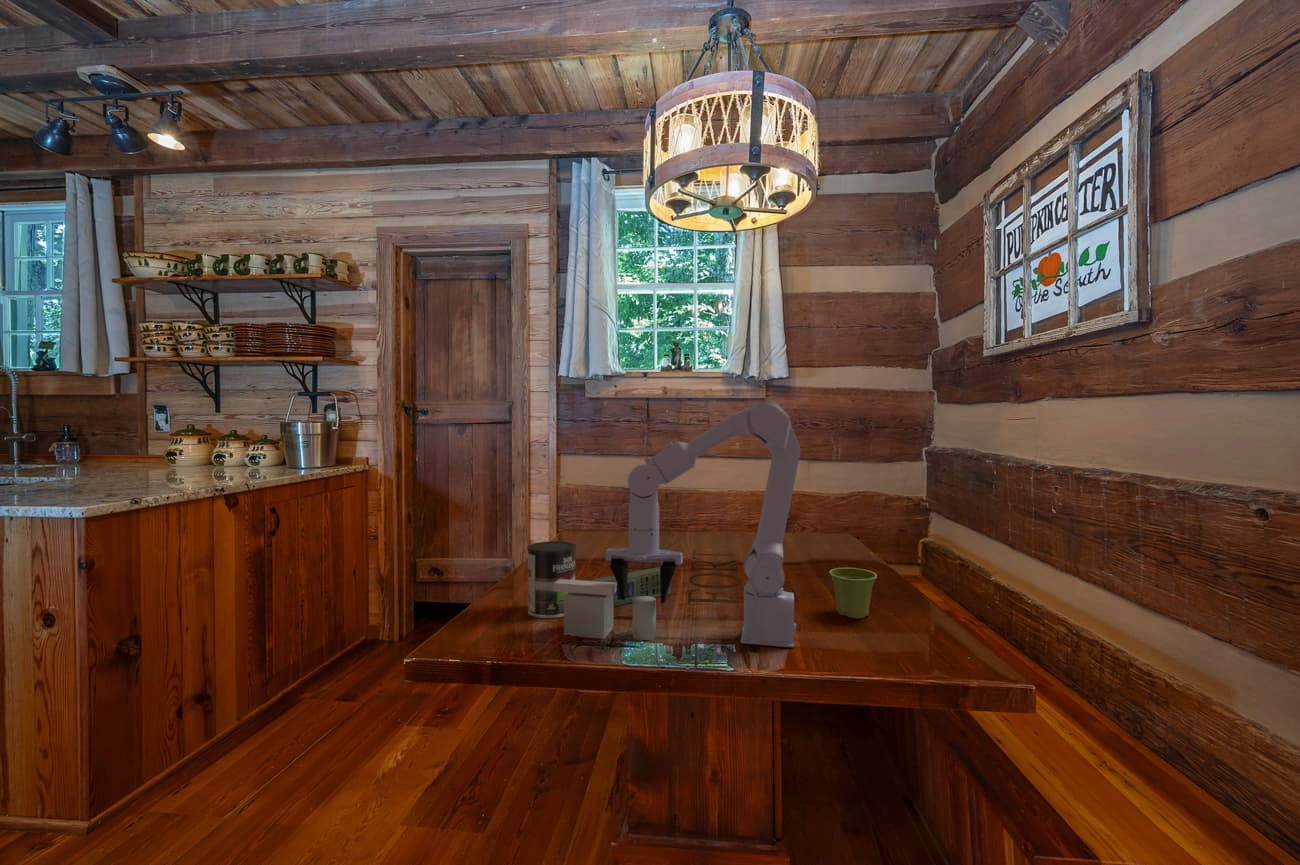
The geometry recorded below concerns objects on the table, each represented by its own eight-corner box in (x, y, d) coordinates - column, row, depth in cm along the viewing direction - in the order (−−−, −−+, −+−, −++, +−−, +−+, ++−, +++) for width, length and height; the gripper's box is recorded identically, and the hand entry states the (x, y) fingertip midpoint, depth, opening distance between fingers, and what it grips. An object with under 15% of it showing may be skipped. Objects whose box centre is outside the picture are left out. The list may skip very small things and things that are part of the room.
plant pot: (884, 621, 114) (884, 579, 114) (838, 621, 114) (838, 579, 114) (866, 606, 123) (866, 567, 123) (823, 607, 123) (823, 567, 123)
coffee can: (585, 609, 122) (585, 544, 122) (550, 622, 114) (550, 553, 114) (553, 600, 128) (552, 538, 128) (517, 612, 120) (517, 546, 120)
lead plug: (658, 633, 108) (658, 596, 108) (653, 641, 104) (652, 603, 104) (636, 631, 109) (635, 595, 109) (630, 639, 105) (629, 602, 105)
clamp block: (613, 627, 111) (613, 589, 111) (604, 638, 105) (604, 599, 105) (575, 624, 113) (575, 587, 113) (564, 635, 107) (563, 596, 107)
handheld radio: (673, 595, 133) (579, 616, 118) (664, 592, 135) (572, 613, 121) (672, 567, 133) (579, 584, 118) (663, 565, 136) (571, 581, 121)
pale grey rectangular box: (616, 590, 109) (616, 582, 109) (611, 595, 106) (611, 586, 106) (560, 587, 112) (559, 579, 112) (554, 591, 109) (554, 583, 109)
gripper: (600, 530, 104) (600, 603, 104) (678, 533, 101) (677, 609, 101) (612, 523, 111) (611, 592, 111) (684, 527, 107) (684, 597, 108)
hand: (643, 599), depth 106 cm, fingers open, 7 cm apart
